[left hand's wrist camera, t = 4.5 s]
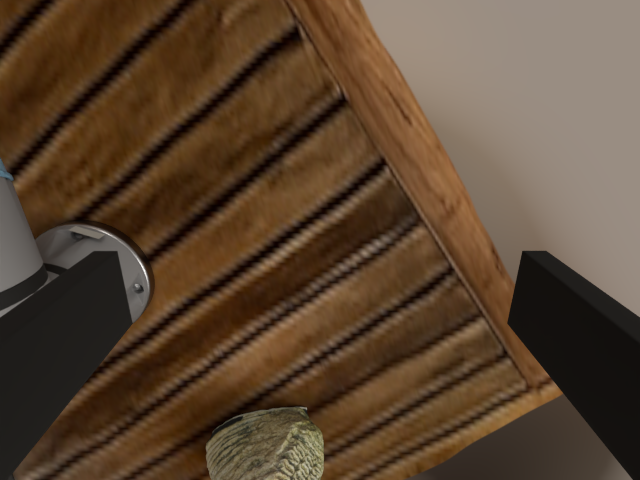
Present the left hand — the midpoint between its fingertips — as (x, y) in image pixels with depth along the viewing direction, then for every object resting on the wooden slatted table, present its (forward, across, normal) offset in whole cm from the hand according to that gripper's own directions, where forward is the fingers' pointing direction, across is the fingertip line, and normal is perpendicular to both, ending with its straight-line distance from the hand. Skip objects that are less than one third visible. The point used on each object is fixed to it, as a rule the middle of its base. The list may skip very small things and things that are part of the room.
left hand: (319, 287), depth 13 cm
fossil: (+34, +8, +42) cm, 55 cm away
